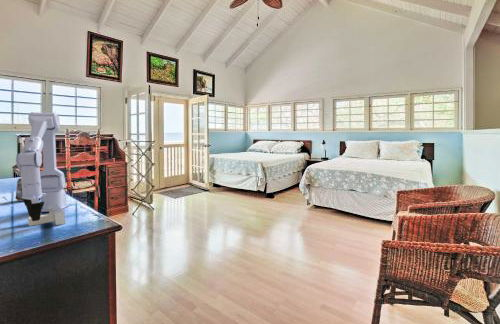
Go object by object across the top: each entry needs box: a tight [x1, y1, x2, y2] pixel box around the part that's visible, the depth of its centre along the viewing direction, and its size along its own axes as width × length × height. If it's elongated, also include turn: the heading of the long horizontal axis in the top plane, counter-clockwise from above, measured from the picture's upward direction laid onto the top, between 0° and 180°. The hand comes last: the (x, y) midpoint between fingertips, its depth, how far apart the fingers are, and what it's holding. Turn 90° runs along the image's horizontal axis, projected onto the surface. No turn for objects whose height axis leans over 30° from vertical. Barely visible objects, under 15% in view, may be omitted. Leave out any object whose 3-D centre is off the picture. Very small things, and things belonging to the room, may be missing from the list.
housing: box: [48, 205, 66, 226], centre depth 109 cm, size 14×3×5 cm, turn 45°
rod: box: [27, 213, 54, 227], centre depth 107 cm, size 11×3×3 cm, turn 134°
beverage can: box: [15, 177, 23, 202], centre depth 140 cm, size 6×7×12 cm
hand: (34, 218), depth 104 cm, fingers open, 7 cm apart
